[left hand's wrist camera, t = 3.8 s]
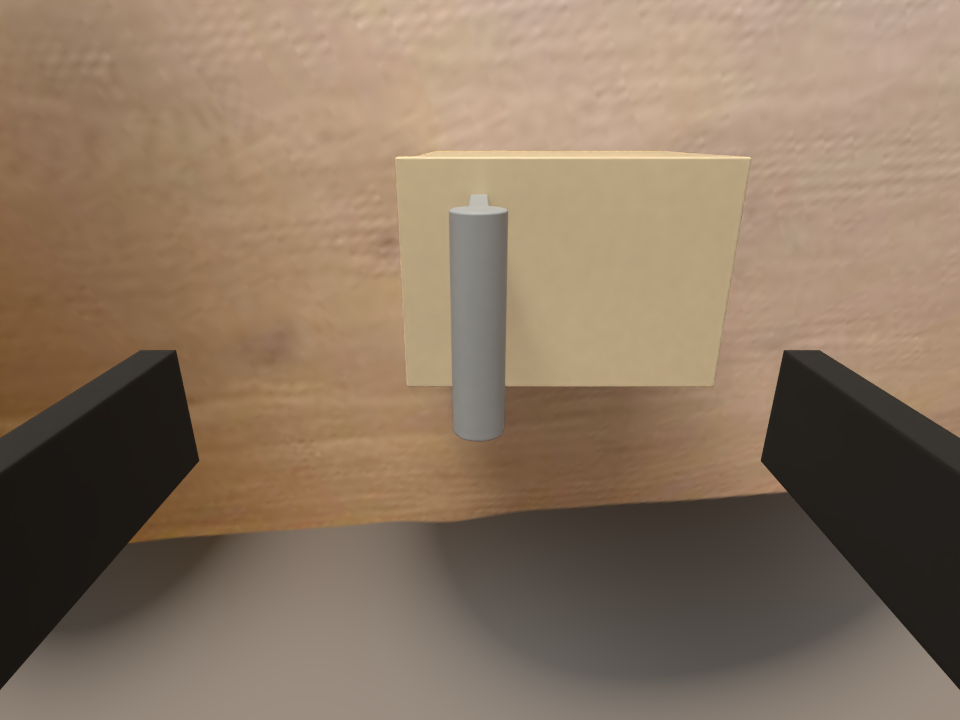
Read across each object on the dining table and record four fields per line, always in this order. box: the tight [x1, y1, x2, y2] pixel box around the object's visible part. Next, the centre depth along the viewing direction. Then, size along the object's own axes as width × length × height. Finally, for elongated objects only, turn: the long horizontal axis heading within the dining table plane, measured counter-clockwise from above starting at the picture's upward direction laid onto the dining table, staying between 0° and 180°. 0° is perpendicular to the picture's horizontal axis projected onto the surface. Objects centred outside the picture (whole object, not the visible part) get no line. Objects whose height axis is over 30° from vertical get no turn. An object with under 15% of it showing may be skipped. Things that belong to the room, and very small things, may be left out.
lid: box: [395, 157, 751, 441], centre depth 21 cm, size 14×10×8 cm
